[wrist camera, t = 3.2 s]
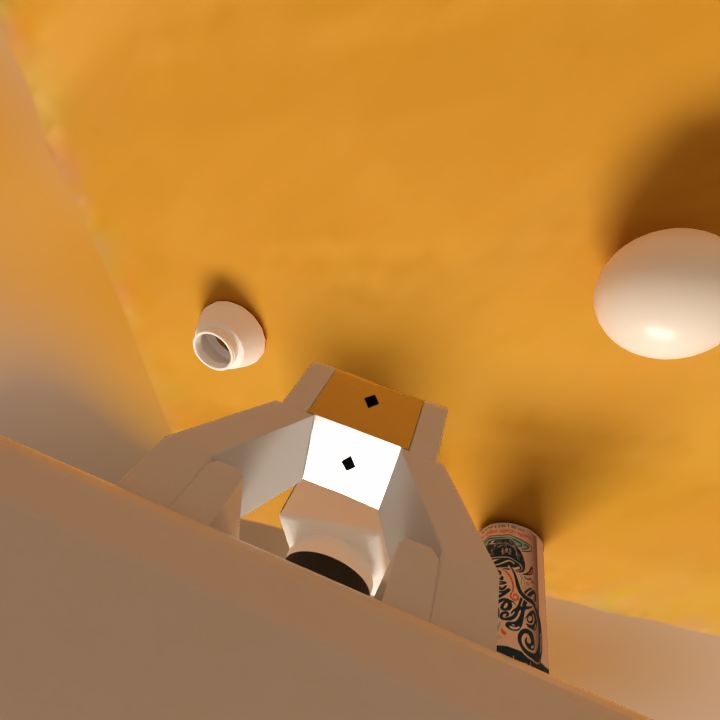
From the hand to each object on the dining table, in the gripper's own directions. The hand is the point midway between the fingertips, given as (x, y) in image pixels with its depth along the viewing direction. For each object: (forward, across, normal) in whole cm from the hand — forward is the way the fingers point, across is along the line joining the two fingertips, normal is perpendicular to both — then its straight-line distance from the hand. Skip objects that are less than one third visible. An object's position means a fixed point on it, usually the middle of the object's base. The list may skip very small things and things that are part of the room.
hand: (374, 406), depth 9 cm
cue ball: (+13, -9, 0) cm, 16 cm away
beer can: (+16, -12, +22) cm, 29 cm away
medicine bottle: (+16, 0, +22) cm, 27 cm away
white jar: (+16, +13, +12) cm, 24 cm away
